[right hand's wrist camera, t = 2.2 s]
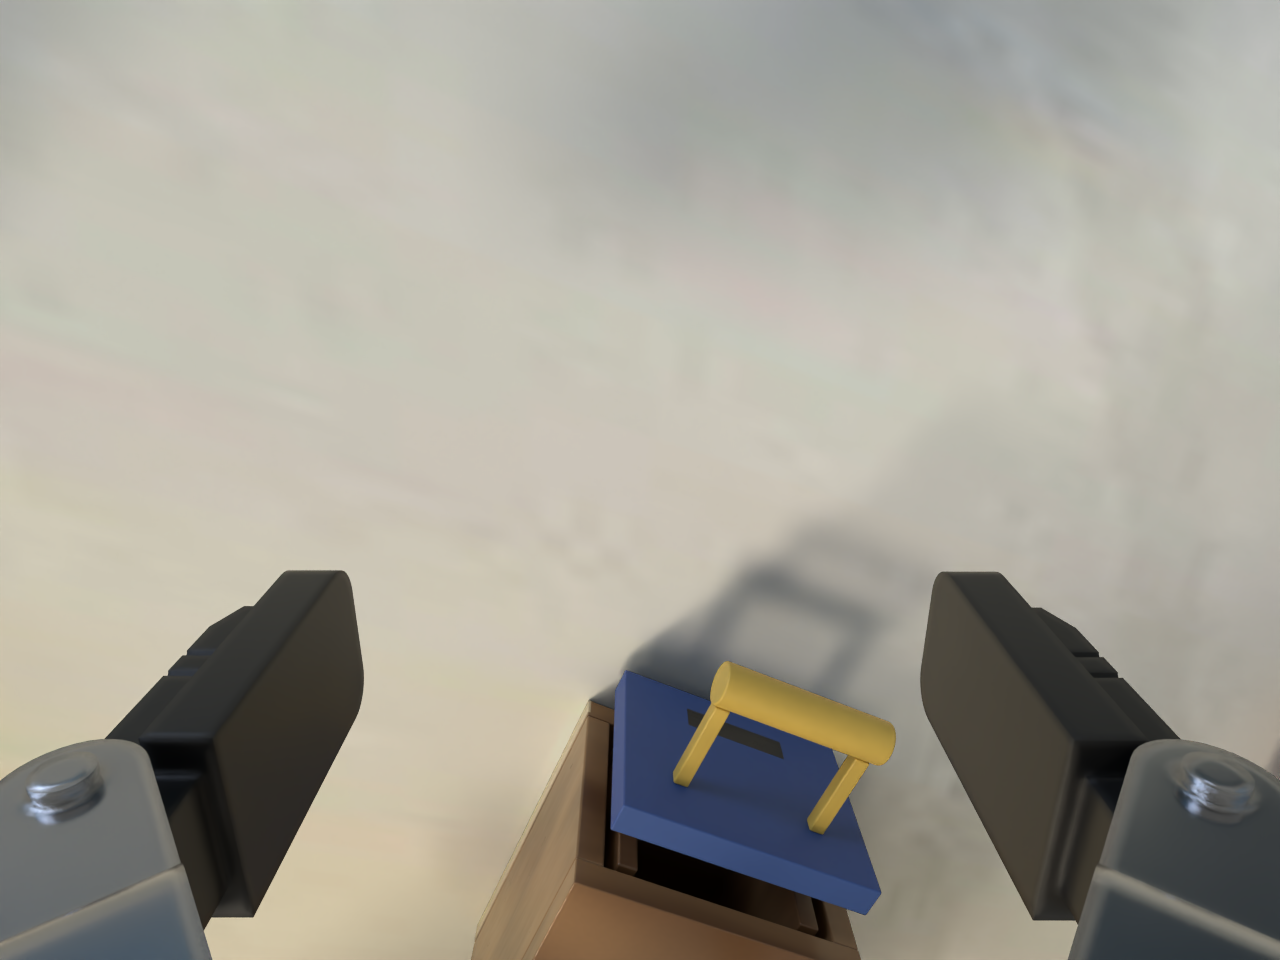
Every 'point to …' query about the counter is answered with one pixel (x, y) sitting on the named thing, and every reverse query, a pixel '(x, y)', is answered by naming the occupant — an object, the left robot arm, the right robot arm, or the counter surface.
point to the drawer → (742, 794)
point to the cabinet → (619, 888)
